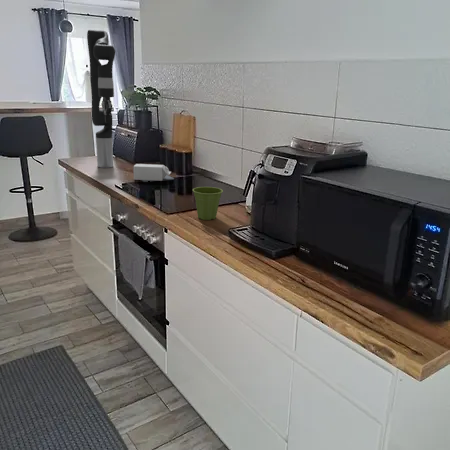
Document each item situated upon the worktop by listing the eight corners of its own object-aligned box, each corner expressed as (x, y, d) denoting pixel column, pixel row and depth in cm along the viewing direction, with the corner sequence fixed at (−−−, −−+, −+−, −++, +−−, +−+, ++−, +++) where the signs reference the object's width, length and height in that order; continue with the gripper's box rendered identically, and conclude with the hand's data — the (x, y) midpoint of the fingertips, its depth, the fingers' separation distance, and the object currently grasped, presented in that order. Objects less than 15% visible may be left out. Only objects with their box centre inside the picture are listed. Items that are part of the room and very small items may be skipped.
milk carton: (136, 176, 238) (171, 178, 238) (133, 179, 231) (169, 181, 231) (136, 163, 236) (171, 165, 235) (132, 166, 229) (169, 167, 229)
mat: (134, 176, 242) (134, 175, 242) (164, 174, 250) (164, 173, 250) (143, 182, 230) (143, 180, 229) (174, 179, 238) (174, 178, 237)
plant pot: (225, 221, 171) (226, 193, 167) (195, 223, 168) (196, 194, 164) (217, 212, 182) (218, 185, 178) (189, 214, 178) (189, 186, 175)
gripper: (116, 87, 219) (118, 123, 225) (109, 87, 230) (111, 120, 236) (101, 87, 216) (103, 123, 221) (95, 86, 227) (97, 121, 232)
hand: (107, 122), depth 229 cm, fingers closed
